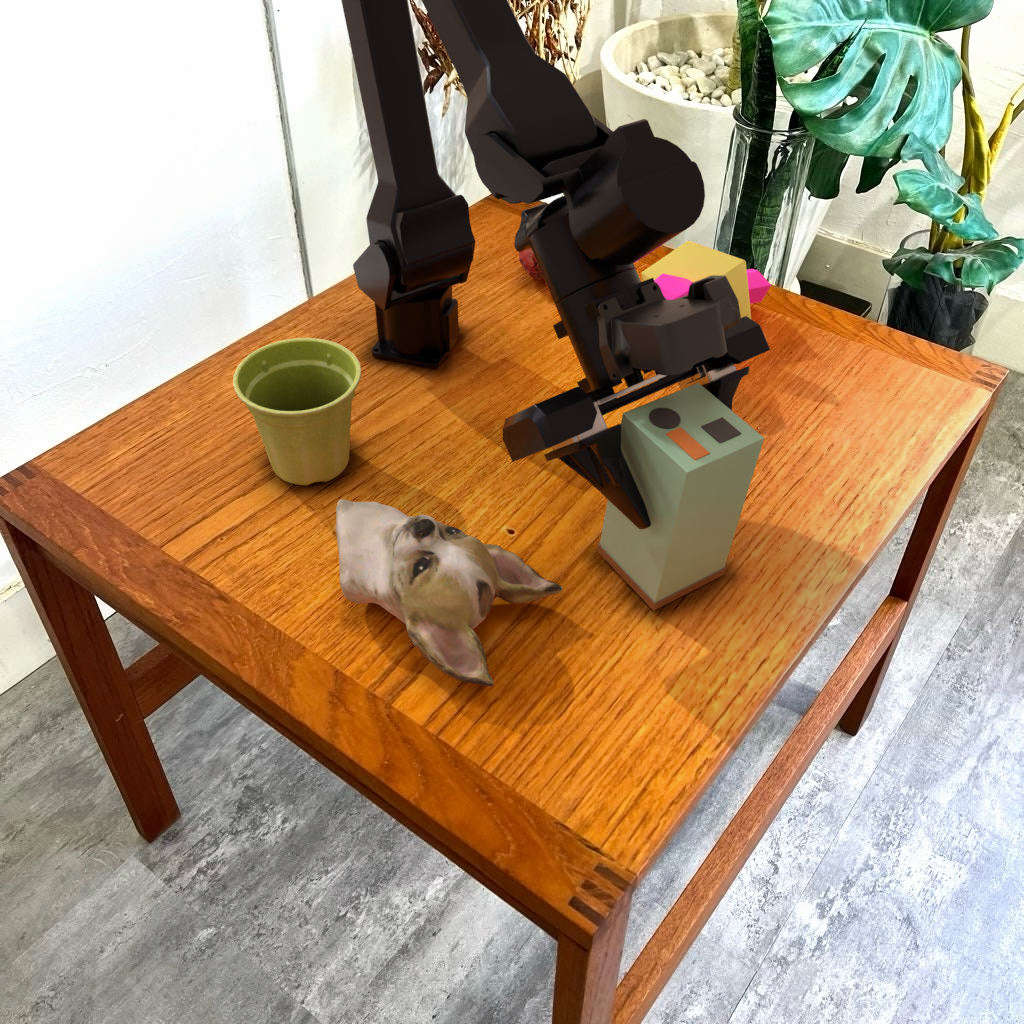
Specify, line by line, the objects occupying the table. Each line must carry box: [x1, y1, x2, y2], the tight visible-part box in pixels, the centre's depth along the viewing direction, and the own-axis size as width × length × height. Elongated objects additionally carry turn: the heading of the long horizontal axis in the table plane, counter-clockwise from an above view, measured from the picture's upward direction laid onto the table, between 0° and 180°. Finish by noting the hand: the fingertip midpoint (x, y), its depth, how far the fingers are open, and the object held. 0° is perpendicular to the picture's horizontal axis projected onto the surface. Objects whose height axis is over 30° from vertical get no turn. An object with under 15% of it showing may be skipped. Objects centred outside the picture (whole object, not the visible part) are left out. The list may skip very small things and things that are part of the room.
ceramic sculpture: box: [335, 498, 564, 687], centre depth 68 cm, size 11×9×15 cm
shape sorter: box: [596, 383, 765, 611], centre depth 70 cm, size 7×7×13 cm
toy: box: [641, 240, 772, 320], centre depth 93 cm, size 10×18×10 cm, turn 143°
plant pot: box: [232, 337, 362, 486], centre depth 79 cm, size 9×9×9 cm
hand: (687, 506), depth 68 cm, fingers closed on shape sorter, 7 cm apart
